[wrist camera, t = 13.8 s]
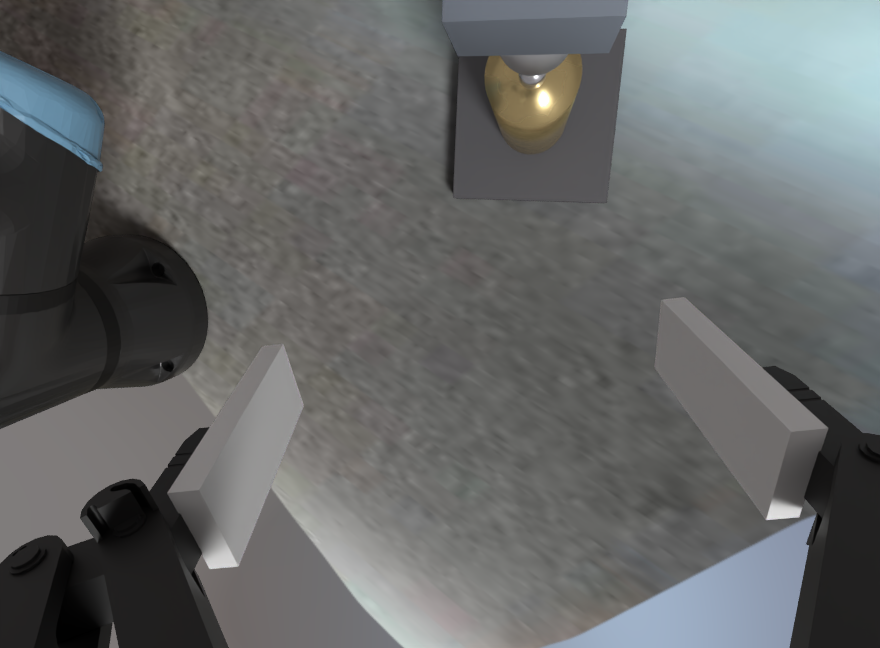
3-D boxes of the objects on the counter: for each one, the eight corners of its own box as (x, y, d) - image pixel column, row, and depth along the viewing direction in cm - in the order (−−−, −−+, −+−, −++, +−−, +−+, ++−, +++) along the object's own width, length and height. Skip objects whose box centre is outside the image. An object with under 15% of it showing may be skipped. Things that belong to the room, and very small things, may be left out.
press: (421, 197, 40) (201, 157, 14) (426, -1, 37) (146, -578, 10) (604, 203, 38) (779, 168, 11) (627, -10, 34) (968, -818, 8)
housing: (497, 154, 37) (479, 122, 24) (501, 85, 36) (484, 14, 23) (563, 154, 36) (579, 121, 24) (569, 83, 35) (589, 8, 22)
